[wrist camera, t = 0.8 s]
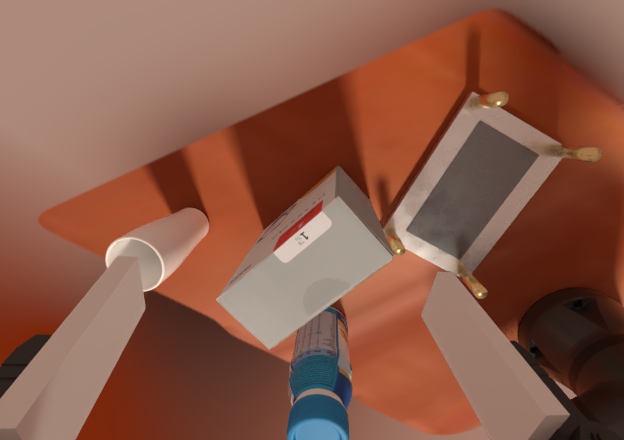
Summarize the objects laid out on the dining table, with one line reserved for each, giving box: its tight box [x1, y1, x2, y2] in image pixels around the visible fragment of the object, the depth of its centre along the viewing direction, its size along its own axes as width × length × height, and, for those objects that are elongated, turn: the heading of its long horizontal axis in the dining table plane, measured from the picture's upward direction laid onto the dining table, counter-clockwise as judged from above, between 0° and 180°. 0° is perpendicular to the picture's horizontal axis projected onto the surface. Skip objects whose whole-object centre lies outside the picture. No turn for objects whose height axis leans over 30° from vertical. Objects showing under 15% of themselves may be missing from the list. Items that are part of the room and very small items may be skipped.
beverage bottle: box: [287, 306, 352, 440], centre depth 42 cm, size 8×8×20 cm
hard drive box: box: [216, 166, 394, 349], centre depth 37 cm, size 16×8×20 cm, turn 132°
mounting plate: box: [382, 91, 602, 299], centre depth 40 cm, size 15×22×7 cm
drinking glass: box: [106, 208, 209, 291], centre depth 41 cm, size 7×7×15 cm
